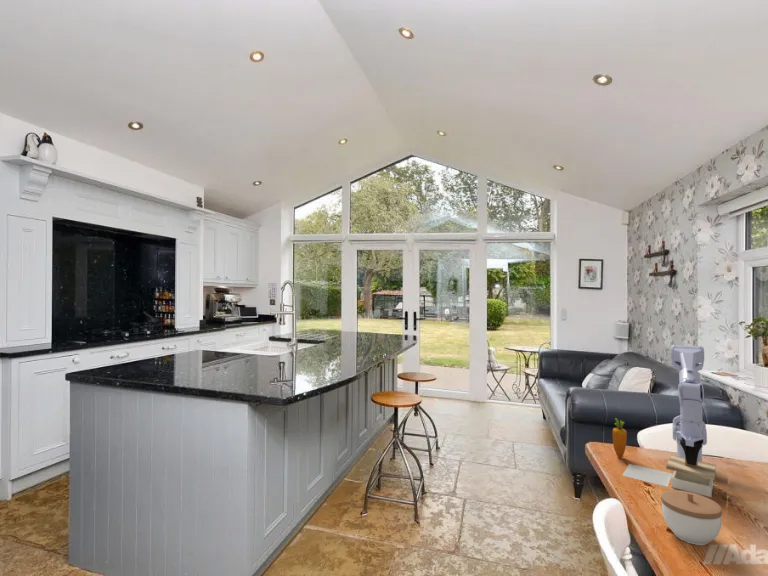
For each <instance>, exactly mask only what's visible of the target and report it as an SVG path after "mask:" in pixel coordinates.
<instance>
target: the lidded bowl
mask: <svg viewBox="0 0 768 576" xmlns="http://www.w3.org/2000/svg"><path fill="white" fill-rule="evenodd" d="M660 500H661V501H660V502H661V511H662V516H663V519H664V521H665V523H666V525H667V527H668V528H669V529H670V530H671V531H672V532H673V534H674V536H675V537H676V538H678V539H679V540H681V541H683V540H684V541H683V542H685V541H686V542H685V543H687V542H688V544H690V543H691V545H694V544H695V546H706V545H705V544H707V543H708V542H709V543H711V542H713V541H715V539H716V538H717V537H718V536H719V534H720V531H721V528H722V520H723V519H722V515H723V509H722V507H721V506H720V504H718V503H717V502H716V501H714V500H713V499H711V498H710V497H708V496H704V495H700V494H696V493H692V492H688V491H684V490H680V489H677V490H675V489H671V490H665V491H662V493H660ZM709 543H708V544H709ZM708 544H707V545H708Z"/></svg>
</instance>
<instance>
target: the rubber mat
mask: <svg viewBox="0 0 768 576" xmlns="http://www.w3.org/2000/svg"><path fill="white" fill-rule="evenodd" d="M672 475H673V473H671V472H666V471H662V470H658V469H654V468H649V467H644V466H640V465H635V464H631V463H628V465H627V467H626V468H625V470H624V471H623V473H622V475H621V476H623V477H625V478H629V479H630V478H631V479H635V480H637V481H641V482H642V481H643V482H646V483H651V484H654V485H659V486H661V487H665V488H668V487H669V485H670V482H671V481H672Z"/></svg>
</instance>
